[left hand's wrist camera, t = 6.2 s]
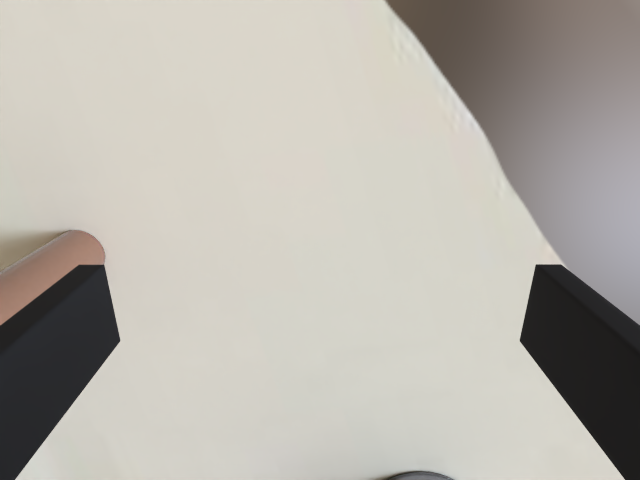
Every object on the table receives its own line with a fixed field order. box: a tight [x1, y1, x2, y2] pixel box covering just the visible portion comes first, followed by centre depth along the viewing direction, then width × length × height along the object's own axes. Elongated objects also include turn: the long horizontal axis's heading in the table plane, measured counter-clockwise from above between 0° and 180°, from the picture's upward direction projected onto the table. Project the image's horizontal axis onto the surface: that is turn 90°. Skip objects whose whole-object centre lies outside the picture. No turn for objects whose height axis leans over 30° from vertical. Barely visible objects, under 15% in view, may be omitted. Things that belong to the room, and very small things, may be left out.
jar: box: [0, 230, 105, 325], centre depth 35 cm, size 5×5×17 cm
